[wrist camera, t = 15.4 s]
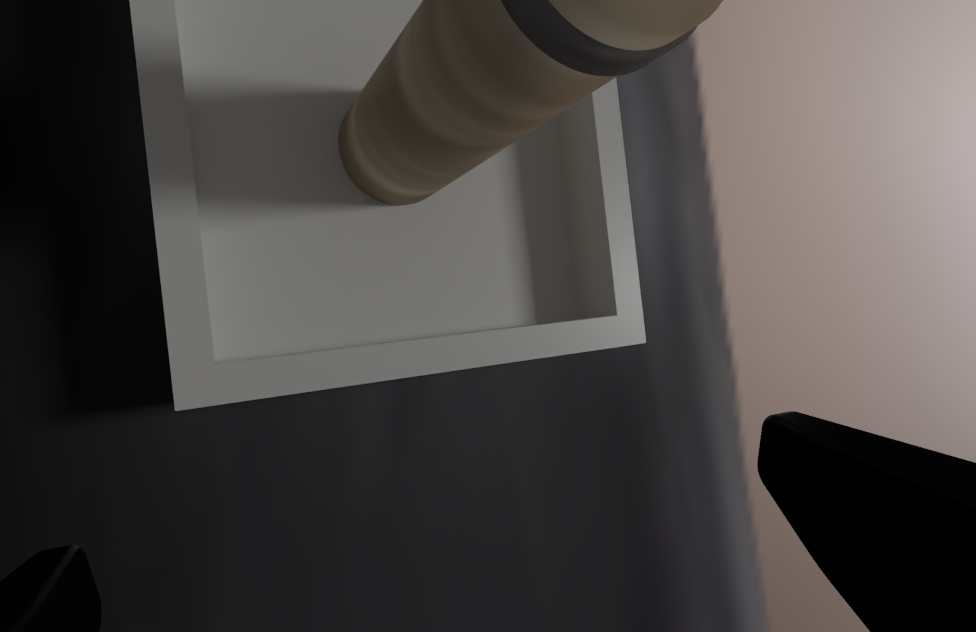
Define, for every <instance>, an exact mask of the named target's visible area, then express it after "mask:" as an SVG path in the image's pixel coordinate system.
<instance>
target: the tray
mask: <svg viewBox="0 0 976 632" xmlns="http://www.w3.org/2000/svg"><path fill="white" fill-rule="evenodd" d="M422 1H423V0H129V2H130V11H131V20H132V29H133V38H134V47H135V56H136V65H137V74H138V83H139V92H140V101H141V110H142V119H143V128H144V137H145V146H146V155H147V164H148V173H149V182H150V191H151V200H152V209H153V218H154V227H155V236H156V245H157V254H158V263H159V272H160V281H161V290H162V299H163V308H164V316H165V325H166V334H167V343H168V352H169V361H170V370H171V379H172V388H173V397H174V406H175V411H179V410H186V409H193V408H200V407H207V406H214V405H221V404H228V403H234V402H241V401H248V400H255V399H262V398H269V397H276V396H283V395H290V394H297V393H303V392H310V391H317V390H324V389H331V388H338V387H345V386H352V385H359V384H365V383H372V382H379V381H386V380H393V379H400V378H407V377H414V376H421V375H428V374H434V373H441V372H448V371H455V370H462V369H469V368H476V367H483V366H490V365H497V364H503V363H510V362H517V361H524V360H531V359H538V358H545V357H552V356H559V355H566V354H572V353H579V352H586V351H593V350H600V349H607V348H614V347H621V346H628V345H635V344H641V343H646V337H645V328H644V319H643V311H642V302H641V293H640V284H639V275H638V267H637V258H636V249H635V240H634V232H633V223H632V214H631V205H630V196H629V188H628V179H627V170H626V161H625V152H624V144H623V135H622V126H621V117H620V108H619V100H618V91H617V82H616V78H614V79H613V80H611V81H610V82H608V83H606V84H605V85H603V86H602V87H600V88H599V89H597V90H595V91H594V92H592V93H591V94H589V95H588V96H586V97H584V98H583V99H581V100H580V101H578V102H577V103H575V104H574V105H572V106H570V107H569V108H567V109H566V110H564V111H563V112H561V113H559V114H558V115H556V116H555V117H553V118H552V119H550V120H548V121H547V122H545V123H544V124H542V125H541V126H539V127H537V128H536V129H534V130H533V131H531V132H530V133H528V134H527V135H525V136H523V137H522V138H520V139H519V140H517V141H516V142H514V143H512V144H511V145H509V146H508V147H506V148H505V149H503V150H501V151H500V152H498V153H497V154H495V155H494V156H492V157H490V158H489V159H487V160H486V161H484V162H483V163H481V164H480V165H478V166H476V167H475V168H473V169H472V170H470V171H469V172H467V173H465V174H464V175H462V176H461V177H459V178H458V179H456V180H454V181H453V182H451V183H450V184H448V185H447V186H445V187H443V188H442V189H440V190H439V191H437V192H436V193H434V194H433V195H431V196H429V197H428V198H426V199H424V200H422V201H420V202H418V203H415V204H410V205H390V204H386V203H383V202H380V201H377V200H375V199H373V198H371V197H370V196H368V195H367V194H365V193H364V192H363V191H361V190H360V189H359V188H358V187H357V186H356V185H355V184H354V183H353V181H352V180H351V179H350V177H349V176H348V174H347V172H346V170H345V169H344V166H343V164H342V161H341V158H340V154H339V147H338V136H339V130H340V126H341V123H342V121H343V118H344V116H345V115H346V113H347V112H348V110H349V109H350V107H351V106H352V104H353V103H354V101H355V100H356V98H357V97H358V95H359V94H360V92H361V91H362V89H363V88H364V86H365V85H366V84H367V82H368V81H369V79H370V78H371V76H372V75H373V73H374V72H375V70H376V69H377V67H378V66H379V64H380V63H381V61H382V60H383V58H384V57H385V55H386V54H387V53H388V51H389V50H390V48H391V47H392V45H393V44H394V42H395V41H396V39H397V38H398V36H399V35H400V33H401V32H402V30H403V29H404V27H405V26H406V25H407V23H408V22H409V20H410V19H411V17H412V16H413V14H414V13H415V11H416V10H417V8H418V7H419V5H420V4H421V2H422Z"/></svg>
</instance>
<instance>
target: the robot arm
mask: <svg viewBox="0 0 976 632" xmlns="http://www.w3.org/2000/svg"><path fill="white" fill-rule="evenodd" d="M758 472H759V475H760V478H761V480H762V482H763V484H764V485H765V487H766V488H767V490H768V491H769V493H770V494H771V496H772V497H773V499H774V500H775V502H776V504H777V505H778V507H779V508H780V510H781V511H782V513H783V514H784V516H785V517H786V519H787V520H788V522H789V523H790V524H791V526H792V528H793V529H794V531H795V532H796V534H797V535H798V537H799V538H800V540H801V541H802V543H803V544H804V546H805V547H806V549H807V550H808V552H809V553H810V555H811V556H812V558H813V559H814V561H815V562H816V563H817V565H818V566H819V568H820V569H821V570H822V571H823V573H824V574H825V576H826V577H827V578H828V580H829V581H830V582H831V583H832V585H833V586H834V587H835V588H836V590H837V591H838V592H839V593H840V595H841V596H842V597H843V598H844V600H845V601H846V602H847V603H848V604H849V606H850V607H851V608H852V609H853V611H854V612H855V613H856V615H857V616H858V617H859V618H860V619H861V620H862V622H863V623H864V624H865V626H866V627H867V628H868V629H869V631H870V632H976V463H974V462H971V461H967V460H964V459H960V458H957V457H953V456H950V455H946V454H943V453H939V452H936V451H932V450H928V449H925V448H922V447H918V446H914V445H911V444H907V443H904V442H900V441H897V440H894V439H890V438H886V437H883V436H879V435H876V434H872V433H869V432H865V431H862V430H858V429H855V428H851V427H848V426H844V425H841V424H837V423H834V422H830V421H827V420H823V419H820V418H816V417H813V416H809V415H806V414H802V413H799V412H785V413H779V414H774V415H770V416H768V417H767V418H766V419H765V420H764V422H763V426H762V432H761V439H760V448H759V455H758ZM101 614H102V609H101V600H100V596H99V593H98V590H97V587H96V584H95V581H94V578H93V575H92V572H91V569H90V566H89V563H88V560H87V557H86V554H85V552H84V551H83V549H82V548H81V547H79V546H77V545H69V546H64V547H58V548H53V549H48V550H43V551H40V552H38V553H36V554H35V555H34V556H32V557H31V558H30V559H28V560H27V561H26V562H25V563H23V564H22V565H21V566H20V567H18V568H17V569H16V570H15V571H13V572H12V573H11V574H10V575H8V576H7V577H6V578H5V579H3V580H2V581H1V582H0V632H99V630H100V624H101Z"/></svg>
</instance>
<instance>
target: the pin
mask: <svg viewBox="0 0 976 632" xmlns="http://www.w3.org/2000/svg"><path fill="white" fill-rule="evenodd" d="M722 1H723V0H423V1H422V2H421V4H420V5H419V7H418V8H417V10H416V11H415V13H414V14H413V16H412V17H411V19H410V20H409V22H408V23H407V25H406V26H405V27H404V29H403V30H402V32H401V33H400V35H399V36H398V38H397V39H396V41H395V42H394V44H393V45H392V47H391V48H390V50H389V51H388V53H387V54H386V55H385V57H384V58H383V60H382V61H381V63H380V64H379V66H378V67H377V69H376V70H375V72H374V73H373V75H372V76H371V78H370V79H369V81H368V82H367V84H366V85H365V86H364V88H363V89H362V91H361V92H360V94H359V95H358V97H357V98H356V100H355V101H354V103H353V104H352V106H351V107H350V109H349V110H348V112H347V113H346V115H345V116H344V118H343V121H342V123H341V126H340V130H339V136H338V147H339V154H340V158H341V161H342V164H343V166H344V169H345V170H346V172H347V174H348V176H349V177H350V179H351V180H352V181H353V183H354V184H355V185H356V186H357V187H358V188H359V189H360V190H361V191H363V192H364V193H365V194H367V195H368V196H370V197H371V198H373V199H375V200H377V201H380V202H383V203H386V204H390V205H410V204H415V203H418V202H420V201H422V200H424V199H426V198H428V197H429V196H431V195H433V194H434V193H436V192H437V191H439V190H440V189H442V188H443V187H445V186H447V185H448V184H450V183H451V182H453V181H454V180H456V179H458V178H459V177H461V176H462V175H464V174H465V173H467V172H469V171H470V170H472V169H473V168H475V167H476V166H478V165H480V164H481V163H483V162H484V161H486V160H487V159H489V158H490V157H492V156H494V155H495V154H497V153H498V152H500V151H501V150H503V149H505V148H506V147H508V146H509V145H511V144H512V143H514V142H516V141H517V140H519V139H520V138H522V137H523V136H525V135H527V134H528V133H530V132H531V131H533V130H534V129H536V128H537V127H539V126H541V125H542V124H544V123H545V122H547V121H548V120H550V119H552V118H553V117H555V116H556V115H558V114H559V113H561V112H563V111H564V110H566V109H567V108H569V107H570V106H572V105H574V104H575V103H577V102H578V101H580V100H581V99H583V98H584V97H586V96H588V95H589V94H591V93H592V92H594V91H595V90H597V89H599V88H600V87H602V86H603V85H605V84H606V83H608V82H610V81H611V80H613V79H614V78H616V77H617V76H619V75H624V74H628V73H631V72H634V71H636V70H638V69H640V68H642V67H644V66H646V65H648V64H649V63H651V62H652V61H654V60H656V59H657V58H659V57H660V56H662V55H664V54H665V53H667V52H668V51H670V50H672V49H673V48H675V47H676V46H678V45H679V44H680V43H682V42H683V41H685V40H686V39H687V38H688V37H689V36H690V35H691V34H692V33H693V32H694V30H695V29H696V27H697V26H698V25H699V24H700V23H701V22H703V21H704V20H706V19H707V18H709V16H710V15H711V14H712V13H713V12H714V11H715V10H716V9H717V8H718V7H719V5H720V4H721V2H722Z"/></svg>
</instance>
